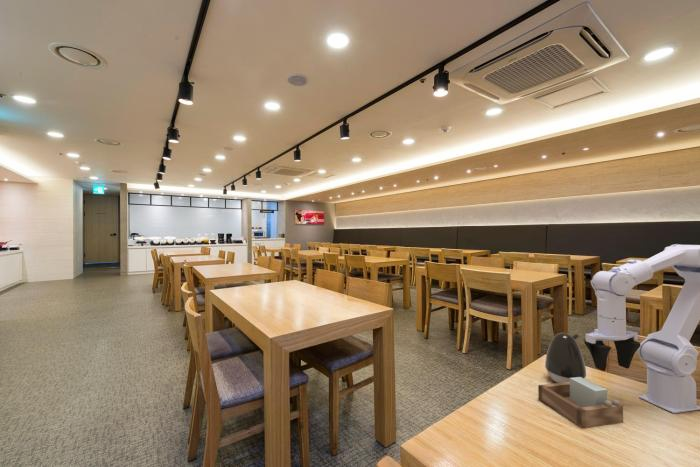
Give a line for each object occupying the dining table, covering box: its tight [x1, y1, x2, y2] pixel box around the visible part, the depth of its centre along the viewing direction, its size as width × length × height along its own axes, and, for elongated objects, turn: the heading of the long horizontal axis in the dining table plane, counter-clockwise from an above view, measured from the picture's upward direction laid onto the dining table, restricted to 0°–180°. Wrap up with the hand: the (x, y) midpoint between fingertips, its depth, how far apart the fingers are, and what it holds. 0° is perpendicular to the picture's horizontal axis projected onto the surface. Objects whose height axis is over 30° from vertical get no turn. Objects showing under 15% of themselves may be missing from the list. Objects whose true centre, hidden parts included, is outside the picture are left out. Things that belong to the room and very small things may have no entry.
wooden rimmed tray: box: [537, 382, 624, 429], centre depth 76 cm, size 12×12×5 cm
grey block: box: [570, 377, 608, 407], centre depth 77 cm, size 4×7×6 cm, turn 10°
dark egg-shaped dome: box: [544, 332, 587, 383], centre depth 91 cm, size 10×10×15 cm
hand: (612, 368), depth 78 cm, fingers open, 7 cm apart
